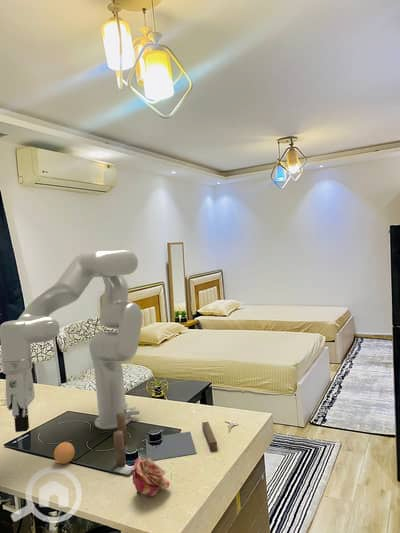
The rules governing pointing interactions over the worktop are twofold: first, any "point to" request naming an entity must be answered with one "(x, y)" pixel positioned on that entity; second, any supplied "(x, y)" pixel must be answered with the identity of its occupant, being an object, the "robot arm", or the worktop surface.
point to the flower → (148, 477)
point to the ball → (64, 453)
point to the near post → (119, 448)
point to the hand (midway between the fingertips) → (22, 430)
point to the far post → (121, 425)
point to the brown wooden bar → (209, 436)
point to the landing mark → (171, 447)
